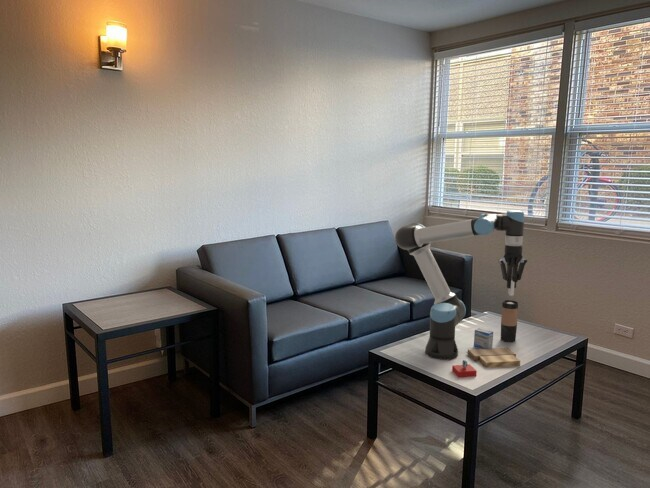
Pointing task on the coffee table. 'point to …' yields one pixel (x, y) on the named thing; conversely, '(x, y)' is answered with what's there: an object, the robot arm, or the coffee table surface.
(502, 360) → the plank
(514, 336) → the travel mug
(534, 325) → the coffee table surface
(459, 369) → the red rectangular block
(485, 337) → the medicine box
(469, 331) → the coffee table surface
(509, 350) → the laid strip
